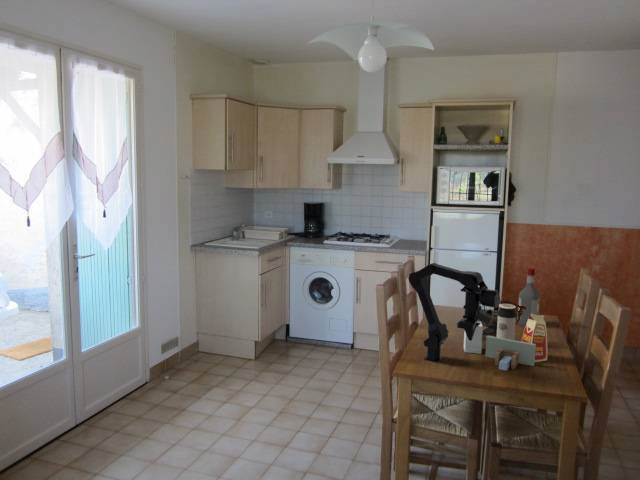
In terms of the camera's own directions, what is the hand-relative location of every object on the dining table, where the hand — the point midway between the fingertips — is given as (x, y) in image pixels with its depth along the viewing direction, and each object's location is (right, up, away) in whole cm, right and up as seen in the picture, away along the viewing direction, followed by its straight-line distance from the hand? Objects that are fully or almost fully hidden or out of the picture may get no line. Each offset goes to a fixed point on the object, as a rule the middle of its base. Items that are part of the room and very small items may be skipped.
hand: (470, 340), depth 213 cm
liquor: (+48, -4, +63) cm, 79 cm away
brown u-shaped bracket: (+17, -11, +7) cm, 22 cm away
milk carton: (+32, -11, +15) cm, 37 cm away
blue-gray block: (+16, -12, +4) cm, 20 cm away
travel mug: (+26, -8, +33) cm, 43 cm away
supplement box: (+7, -9, +23) cm, 26 cm away
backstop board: (+20, -11, +11) cm, 25 cm away
